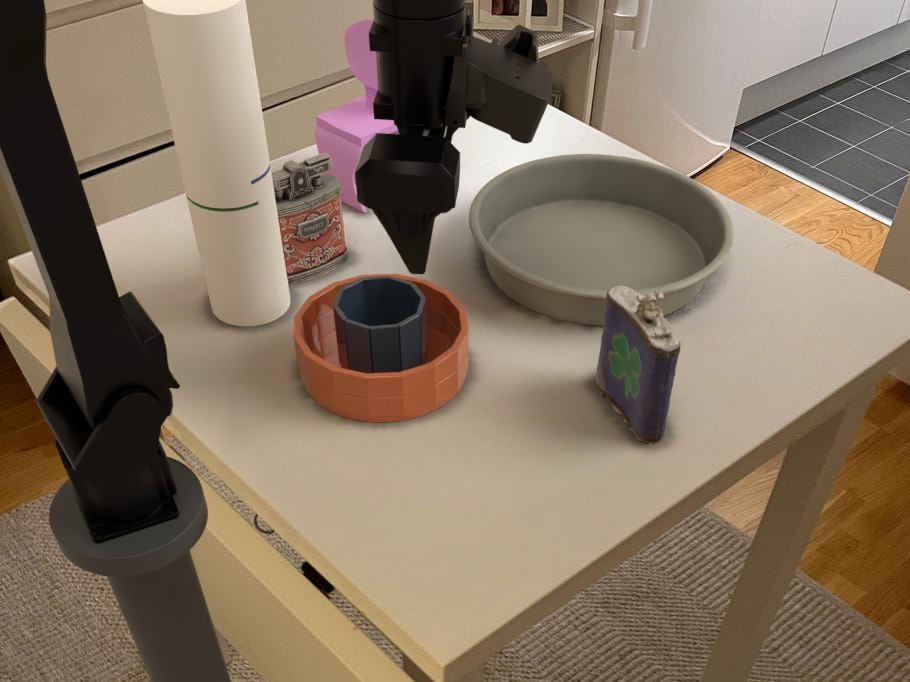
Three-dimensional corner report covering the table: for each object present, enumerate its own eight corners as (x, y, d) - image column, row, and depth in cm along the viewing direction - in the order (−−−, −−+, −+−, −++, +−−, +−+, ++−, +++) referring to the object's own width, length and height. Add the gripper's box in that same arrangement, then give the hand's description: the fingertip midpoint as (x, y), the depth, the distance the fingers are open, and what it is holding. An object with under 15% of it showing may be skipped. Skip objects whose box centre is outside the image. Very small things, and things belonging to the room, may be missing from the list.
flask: (588, 380, 85) (604, 266, 76) (619, 372, 85) (637, 258, 77) (642, 448, 79) (665, 334, 71) (674, 439, 80) (700, 324, 72)
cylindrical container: (306, 296, 91) (264, -11, 72) (255, 335, 88) (197, 23, 68) (246, 272, 94) (189, -32, 74) (194, 309, 90) (120, -1, 70)
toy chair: (312, 189, 103) (293, 30, 91) (373, 159, 107) (362, 3, 95) (367, 219, 100) (355, 58, 88) (428, 186, 104) (425, 29, 92)
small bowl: (362, 400, 82) (356, 338, 77) (327, 350, 86) (320, 288, 81) (441, 376, 84) (440, 314, 79) (403, 328, 88) (400, 266, 83)
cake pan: (579, 373, 85) (584, 327, 82) (418, 243, 97) (417, 199, 94) (778, 280, 94) (791, 235, 91) (609, 172, 106) (614, 129, 103)
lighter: (284, 290, 92) (268, 185, 84) (264, 274, 93) (246, 169, 86) (356, 260, 95) (346, 157, 87) (335, 245, 97) (324, 141, 89)
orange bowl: (339, 442, 79) (333, 397, 76) (276, 344, 87) (268, 299, 83) (496, 392, 83) (497, 346, 80) (423, 303, 91) (421, 258, 87)
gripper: (543, 76, 55) (526, 320, 67) (555, -47, 67) (540, 181, 79) (344, 64, 56) (364, 309, 68) (390, -56, 67) (400, 172, 79)
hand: (425, 238), depth 73 cm, fingers open, 9 cm apart
